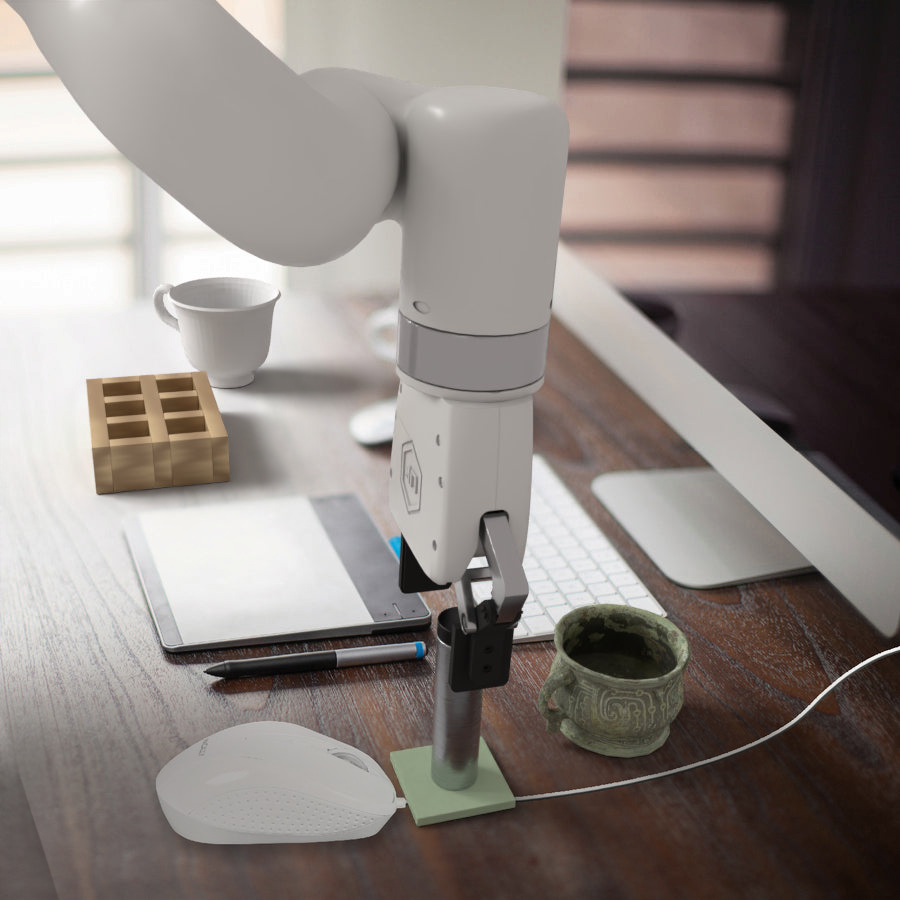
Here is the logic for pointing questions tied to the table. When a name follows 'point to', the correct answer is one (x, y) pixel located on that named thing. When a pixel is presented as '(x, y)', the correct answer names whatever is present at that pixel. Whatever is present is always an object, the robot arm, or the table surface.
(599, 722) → the vessel
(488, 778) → the mat
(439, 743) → the steel peg
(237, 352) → the teacup
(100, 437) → the desk rack
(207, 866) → the table surface
